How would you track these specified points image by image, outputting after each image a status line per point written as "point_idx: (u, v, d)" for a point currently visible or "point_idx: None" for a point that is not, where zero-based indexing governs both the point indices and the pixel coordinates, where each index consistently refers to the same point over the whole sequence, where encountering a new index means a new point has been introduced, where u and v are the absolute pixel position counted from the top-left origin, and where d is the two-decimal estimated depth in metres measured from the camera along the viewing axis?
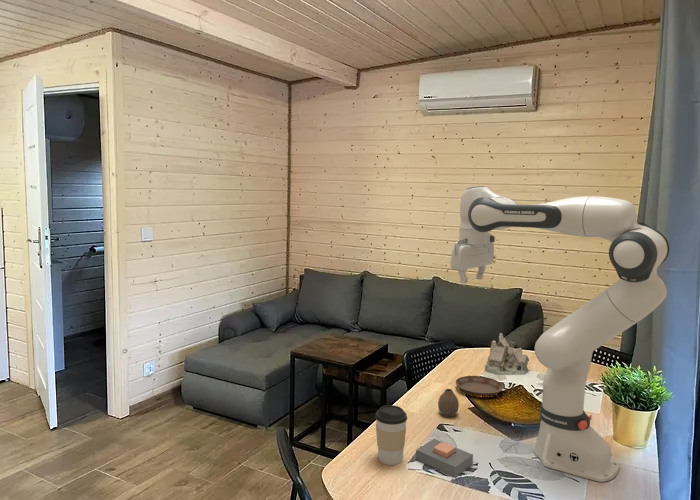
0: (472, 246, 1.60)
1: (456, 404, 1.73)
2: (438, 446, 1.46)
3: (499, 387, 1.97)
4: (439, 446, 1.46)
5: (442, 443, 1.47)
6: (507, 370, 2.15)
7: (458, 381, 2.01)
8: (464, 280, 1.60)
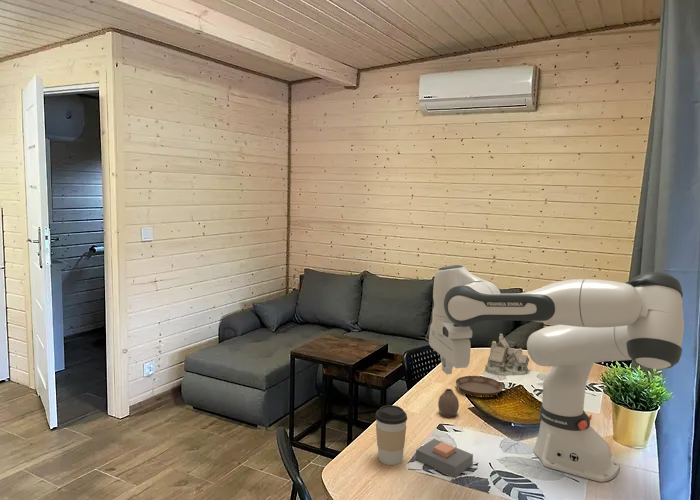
0: None
1: (456, 404, 1.73)
2: (438, 446, 1.46)
3: (499, 387, 1.97)
4: (439, 446, 1.46)
5: (442, 443, 1.47)
6: (507, 371, 2.14)
7: (458, 381, 2.01)
8: None
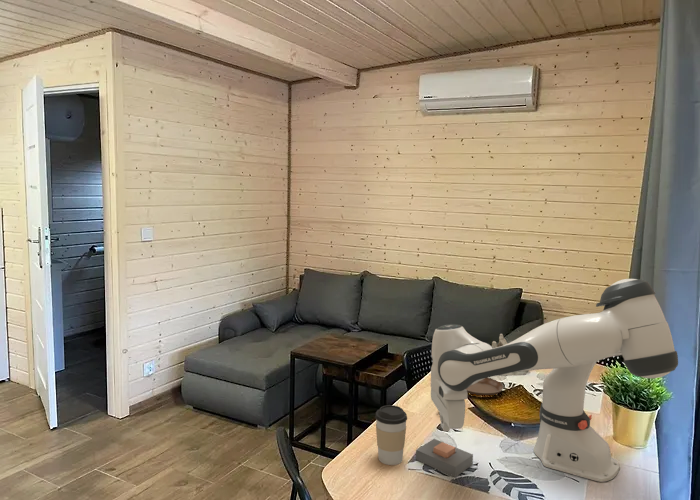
0: None
1: None
2: (438, 446, 1.46)
3: (499, 387, 1.97)
4: (439, 446, 1.46)
5: (442, 443, 1.47)
6: None
7: None
8: None
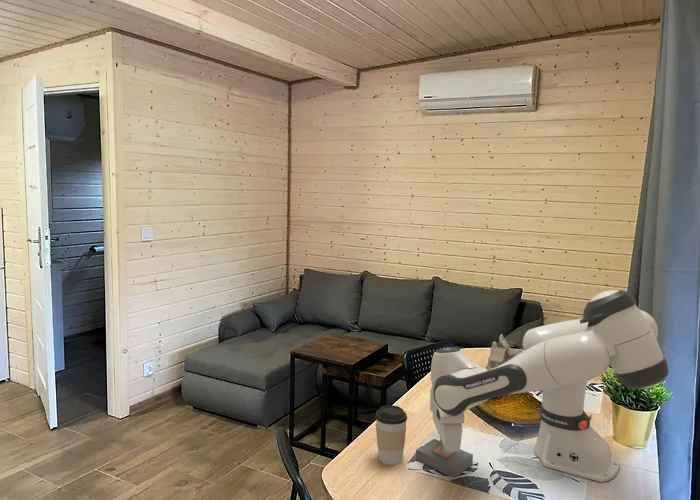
0: None
1: None
2: (438, 449, 1.46)
3: None
4: (439, 449, 1.46)
5: None
6: None
7: None
8: None
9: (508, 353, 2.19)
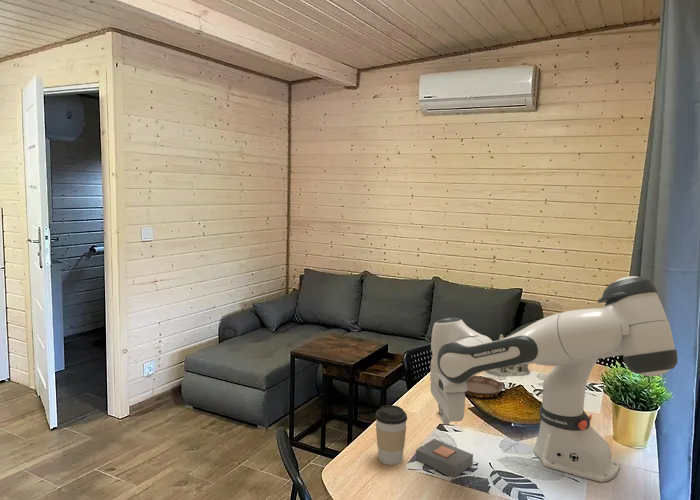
0: None
1: None
2: (438, 450, 1.46)
3: (499, 387, 1.97)
4: (439, 450, 1.46)
5: (442, 447, 1.47)
6: (508, 371, 2.13)
7: None
8: None
9: None
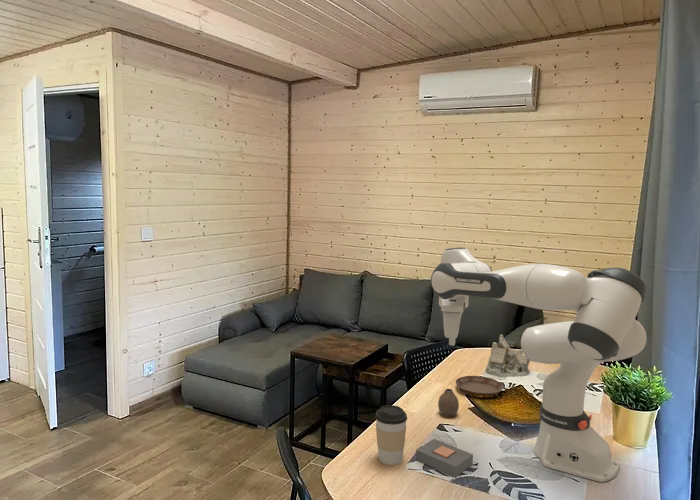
0: None
1: (456, 404, 1.73)
2: (438, 450, 1.46)
3: (499, 387, 1.97)
4: (439, 450, 1.46)
5: (442, 447, 1.47)
6: (508, 372, 2.13)
7: (458, 381, 2.01)
8: None
9: (508, 354, 2.18)
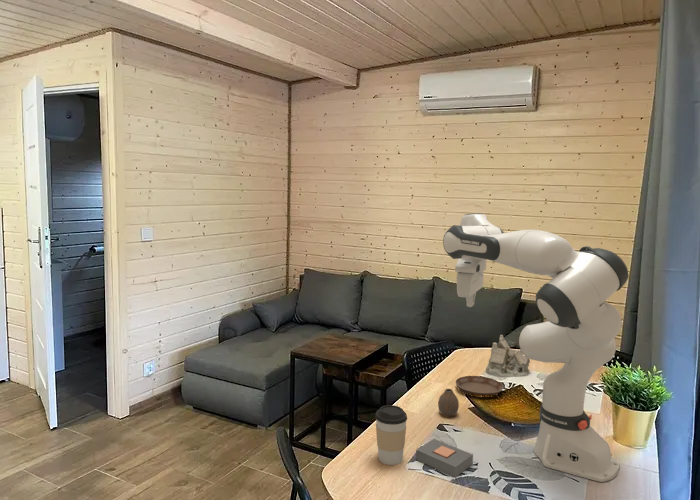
0: None
1: (456, 404, 1.73)
2: (438, 450, 1.46)
3: (499, 387, 1.97)
4: (439, 450, 1.46)
5: (442, 447, 1.47)
6: (508, 372, 2.12)
7: (458, 381, 2.01)
8: None
9: (508, 354, 2.18)
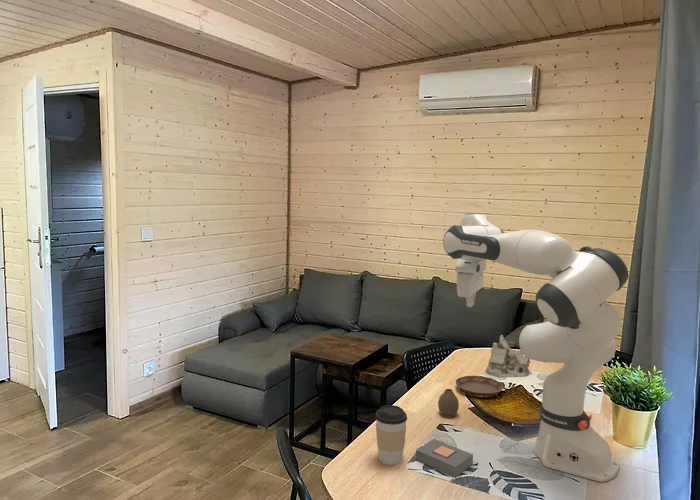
0: None
1: (456, 404, 1.73)
2: (438, 450, 1.46)
3: (499, 387, 1.97)
4: (439, 450, 1.46)
5: (442, 447, 1.47)
6: (509, 372, 2.12)
7: (458, 381, 2.01)
8: None
9: (509, 354, 2.18)
